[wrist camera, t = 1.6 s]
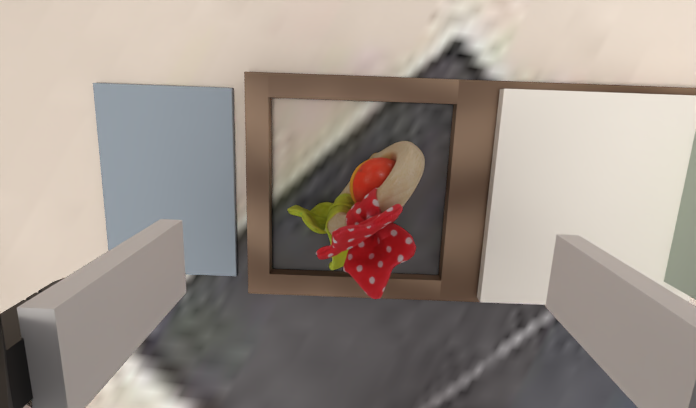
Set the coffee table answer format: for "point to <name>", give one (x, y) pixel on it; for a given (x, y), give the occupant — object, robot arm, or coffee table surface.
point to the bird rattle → (370, 217)
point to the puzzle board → (461, 190)
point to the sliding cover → (590, 187)
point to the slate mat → (170, 167)
